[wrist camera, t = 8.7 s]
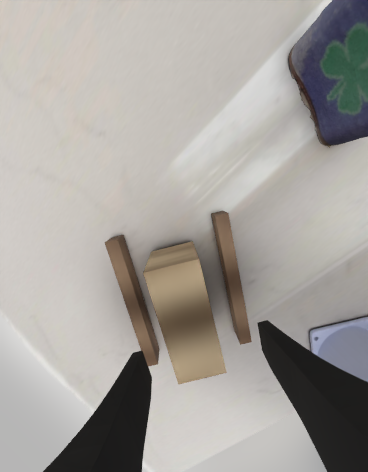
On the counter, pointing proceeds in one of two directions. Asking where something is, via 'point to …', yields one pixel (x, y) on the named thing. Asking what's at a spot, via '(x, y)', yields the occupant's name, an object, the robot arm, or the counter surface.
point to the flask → (335, 71)
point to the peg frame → (136, 302)
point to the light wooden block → (184, 312)
